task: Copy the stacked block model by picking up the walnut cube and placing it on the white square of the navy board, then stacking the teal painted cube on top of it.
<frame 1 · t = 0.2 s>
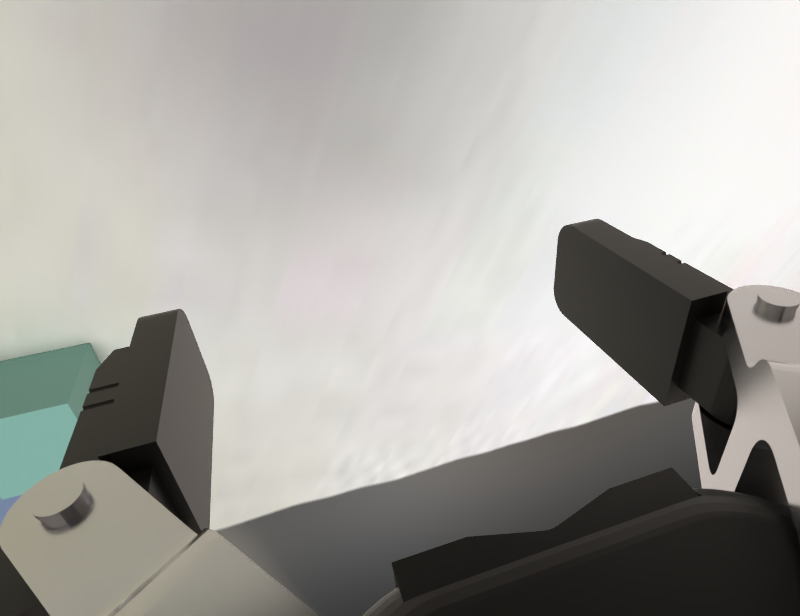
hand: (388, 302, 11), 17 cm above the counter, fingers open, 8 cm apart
teal cube: (60, 386, 28), on the counter
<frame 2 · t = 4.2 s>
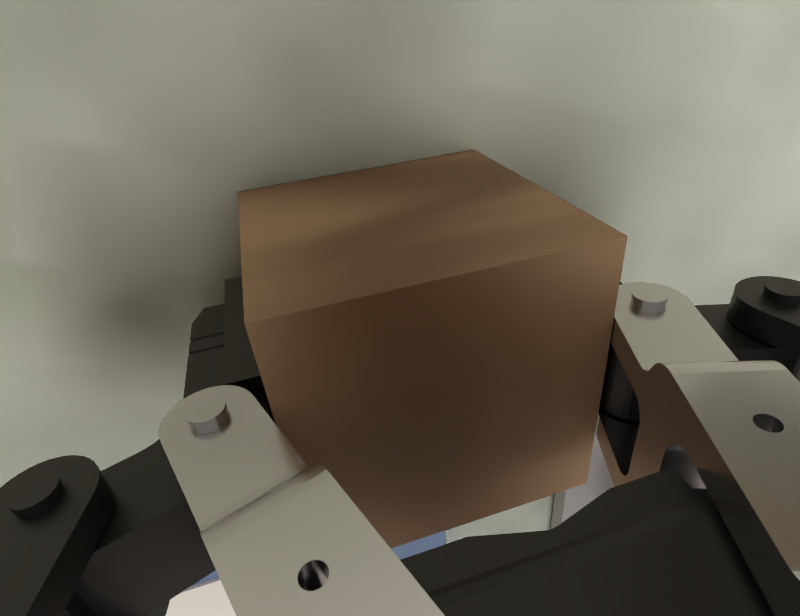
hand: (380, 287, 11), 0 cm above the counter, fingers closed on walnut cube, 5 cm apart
stacked block model: (643, 441, 18), on the counter
walnut cube: (375, 276, 12), on the counter, touching gripper
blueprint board: (268, 601, 16), on the counter
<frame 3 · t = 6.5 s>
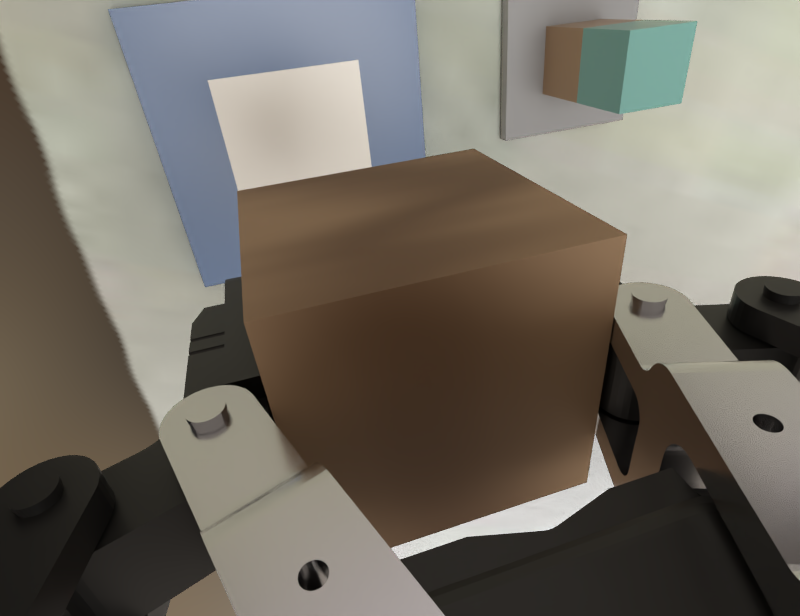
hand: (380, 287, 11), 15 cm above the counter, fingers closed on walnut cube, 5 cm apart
stacked block model: (564, 56, 25), on the counter
walnut cube: (375, 275, 12), point 15 cm above the counter, touching gripper
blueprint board: (298, 142, 24), on the counter
when the fingers open (2 cm above the counter, at t = 9.3 s): walnut cube stays where it is, resting on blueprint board.
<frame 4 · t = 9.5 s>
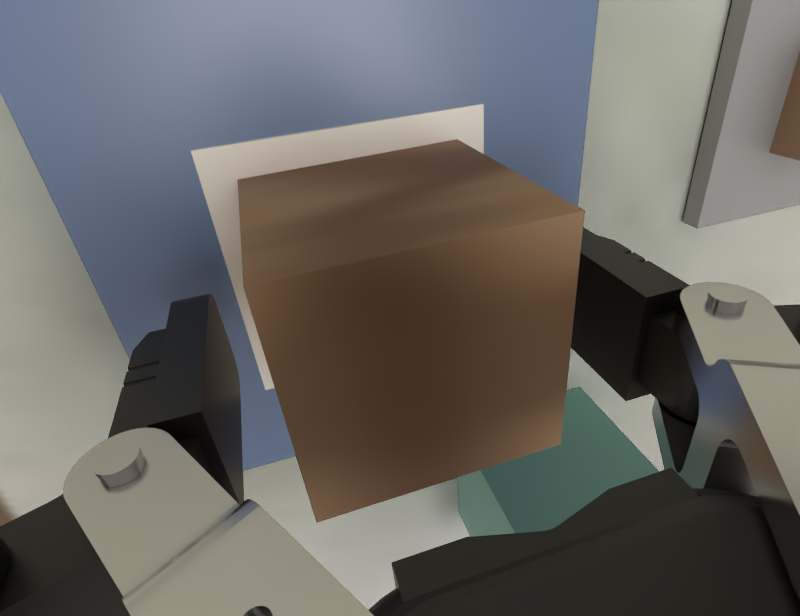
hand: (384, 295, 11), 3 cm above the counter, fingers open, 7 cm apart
walnut cube: (367, 259, 12), point 1 cm above the counter, touching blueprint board
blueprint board: (357, 245, 13), on the counter
teal cube: (515, 450, 20), on the counter
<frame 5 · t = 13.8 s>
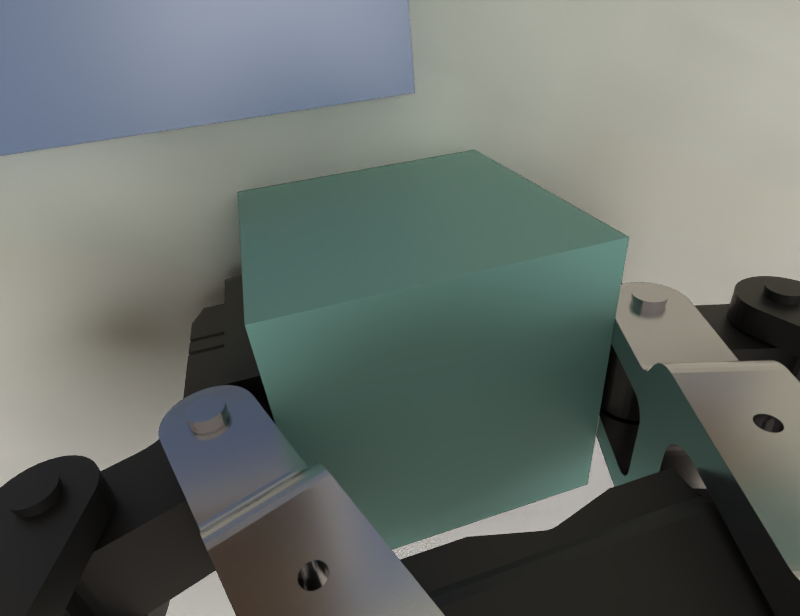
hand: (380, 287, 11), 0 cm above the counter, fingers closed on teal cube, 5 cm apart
teal cube: (376, 276, 12), on the counter, touching gripper
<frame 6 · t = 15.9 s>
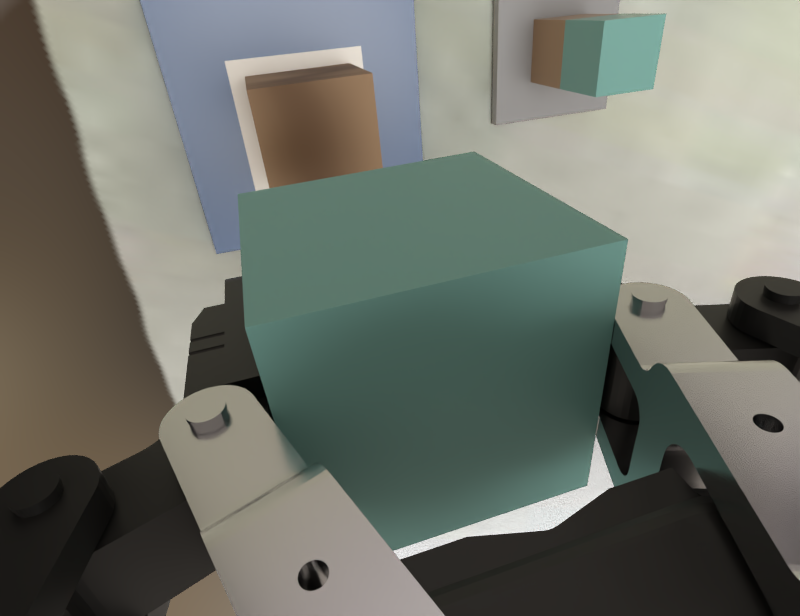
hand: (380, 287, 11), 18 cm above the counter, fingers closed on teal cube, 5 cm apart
stacked block model: (551, 48, 27), on the counter
walnut cube: (307, 124, 25), point 1 cm above the counter, touching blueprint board
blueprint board: (304, 121, 26), on the counter
teal cube: (375, 278, 12), point 17 cm above the counter, touching gripper
when the fingers open (7 cm above the counter, at t = 18.3 s): teal cube stays where it is, resting on walnut cube.
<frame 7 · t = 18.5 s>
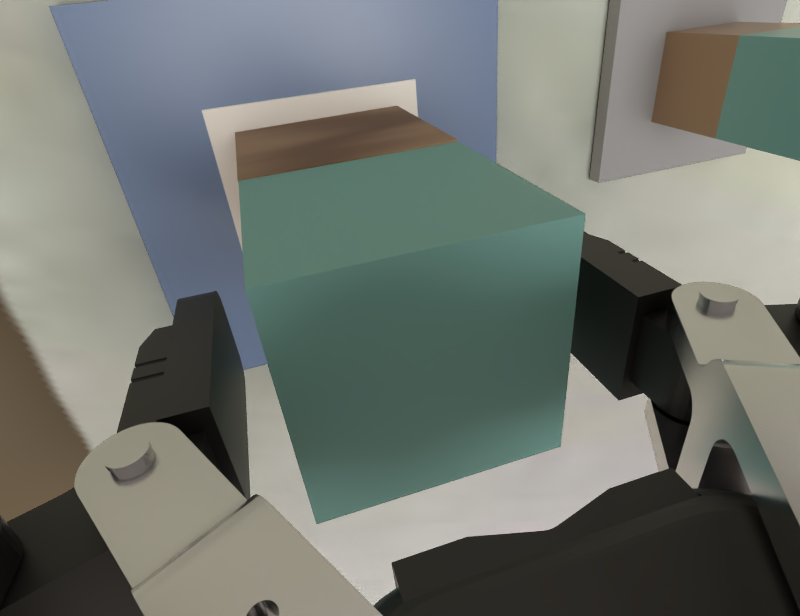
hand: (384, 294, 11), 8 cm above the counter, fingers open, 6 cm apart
stacked block model: (681, 71, 19), on the counter
walnut cube: (332, 197, 16), point 1 cm above the counter, touching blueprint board, teal cube
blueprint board: (326, 189, 17), on the counter
teal cube: (367, 260, 12), point 6 cm above the counter, touching walnut cube
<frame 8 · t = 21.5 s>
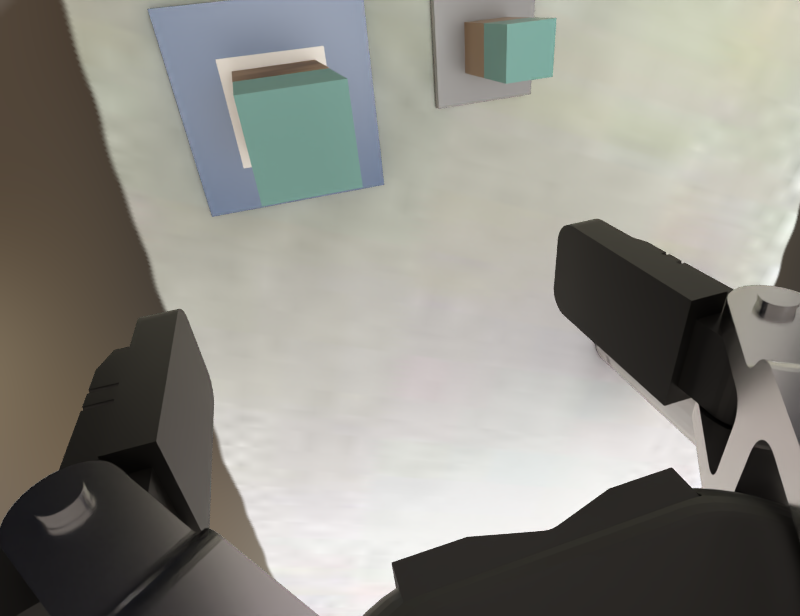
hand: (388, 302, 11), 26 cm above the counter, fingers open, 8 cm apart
stacked block model: (481, 45, 34), on the counter
walnut cube: (283, 109, 31), point 1 cm above the counter, touching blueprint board, teal cube
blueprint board: (281, 107, 32), on the counter
teal cube: (291, 124, 27), point 6 cm above the counter, touching walnut cube
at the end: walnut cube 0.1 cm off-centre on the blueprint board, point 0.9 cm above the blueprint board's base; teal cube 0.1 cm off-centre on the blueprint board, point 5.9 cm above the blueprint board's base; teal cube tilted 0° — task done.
